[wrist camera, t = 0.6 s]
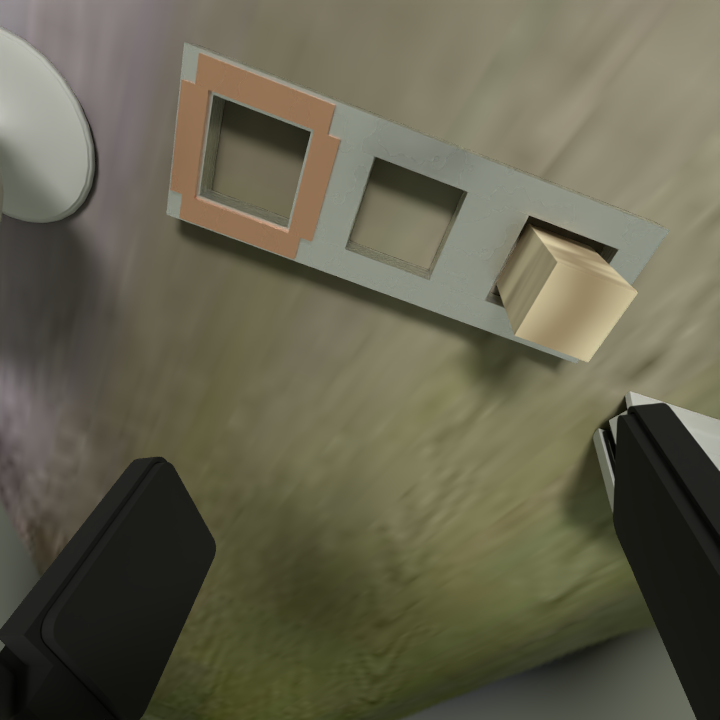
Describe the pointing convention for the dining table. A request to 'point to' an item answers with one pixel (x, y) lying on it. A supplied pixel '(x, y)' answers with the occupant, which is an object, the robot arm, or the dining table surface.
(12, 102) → the chalice
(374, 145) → the rail
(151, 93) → the dining table surface
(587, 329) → the peg
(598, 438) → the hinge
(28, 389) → the dining table surface
